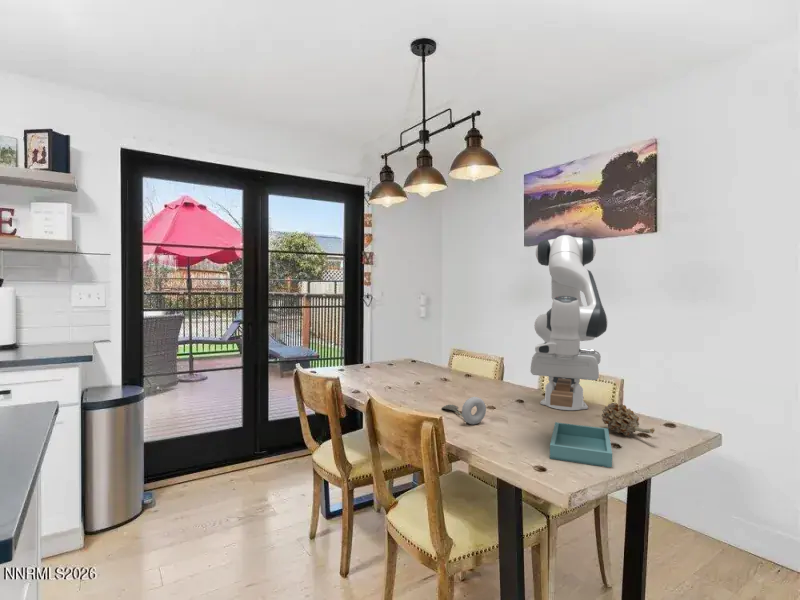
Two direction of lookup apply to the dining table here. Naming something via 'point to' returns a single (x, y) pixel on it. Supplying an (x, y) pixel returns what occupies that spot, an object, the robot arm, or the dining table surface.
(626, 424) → the pine cone
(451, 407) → the soupspoon
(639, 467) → the dining table surface
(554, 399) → the stepped brown block
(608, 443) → the serving bin
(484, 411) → the donut
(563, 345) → the robot arm
